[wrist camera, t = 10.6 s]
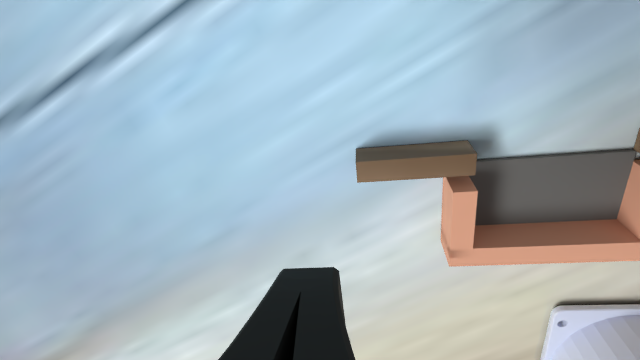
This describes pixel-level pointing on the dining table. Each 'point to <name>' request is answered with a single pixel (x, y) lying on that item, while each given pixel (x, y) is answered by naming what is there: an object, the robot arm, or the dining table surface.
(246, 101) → the dining table surface
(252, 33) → the dining table surface
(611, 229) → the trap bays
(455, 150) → the channel
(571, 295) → the dining table surface
